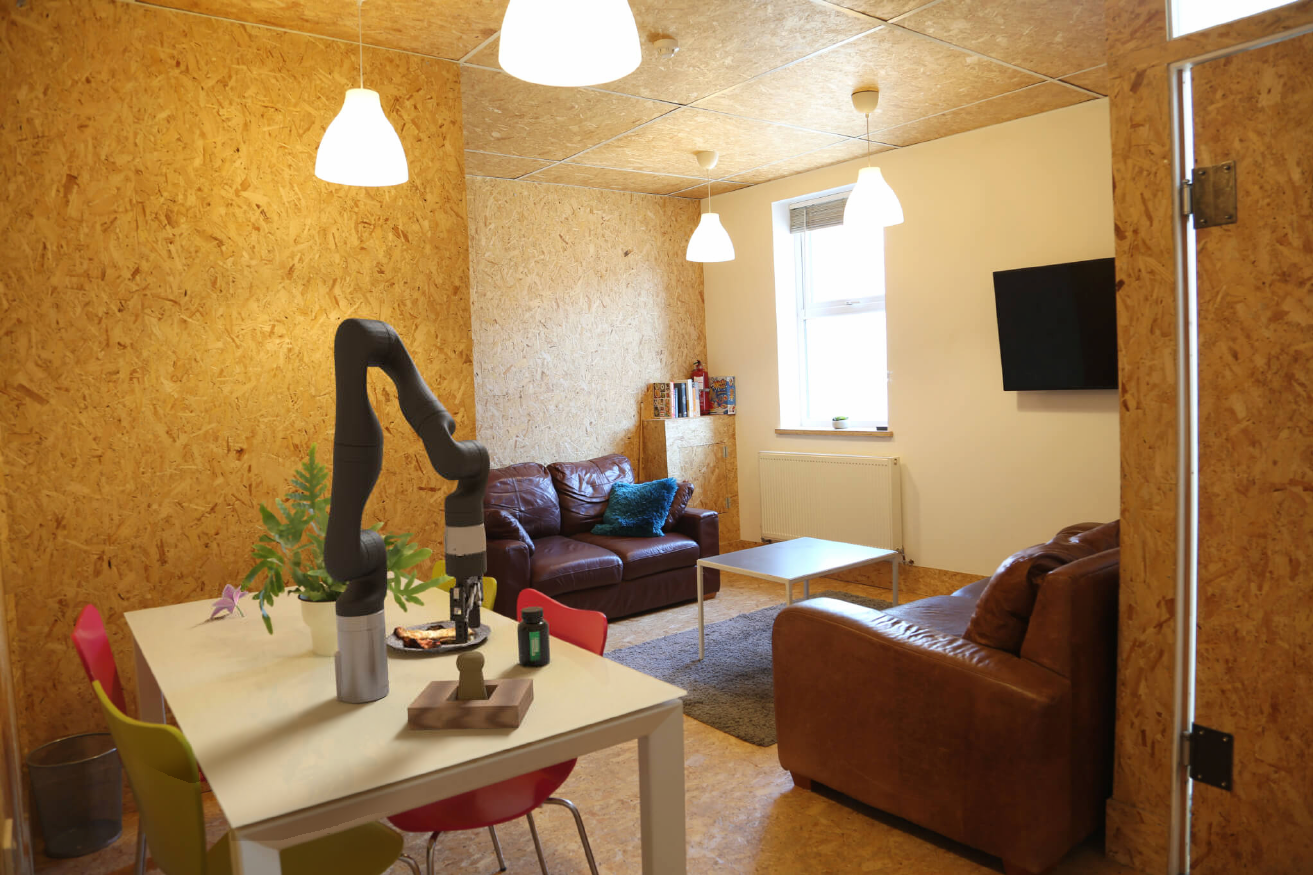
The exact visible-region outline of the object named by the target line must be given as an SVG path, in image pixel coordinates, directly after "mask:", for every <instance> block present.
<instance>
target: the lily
mask: <svg viewBox="0 0 1313 875" xmlns="http://www.w3.org/2000/svg"><path fill="white" fill-rule="evenodd" d="M240 588H241V585H240V586H238V587H237V588H236V587H234V586H233V585H231V584H229V583H227V584H226V585H225V587H224V588H223V590H222V595H221V598H220V599H218V600H216V601H215V602H213V603H212V604H211V607H215V608H214V610H213V612H212V613H211V614H210V619H213V618H214V617H215V616H217V615H218V614H219V613H221V612H222V611H224V610H226V611H227V612H228V613H231V614H232V613H233V612H234V610H235V607H236V608H237V610H238V612H239V613H240V614H241V616H242V617H244V615H243V612H242V611H241V609H240V607H239V606H238V605H237V604H238V601H239V600H241V599H242V598H244V597H246V596H247V595H248V594H249V591H246V590H243V591H244V592H241V590H240Z"/></svg>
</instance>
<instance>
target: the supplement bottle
mask: <svg viewBox="0 0 1313 875" xmlns="http://www.w3.org/2000/svg"><path fill="white" fill-rule="evenodd" d="M520 613H521V615H520V619H521V621H519V623H518V624H517V627H516V628H517V647H518V651H517V652H518V663H519V664H520V666H522V667H523V668H524V667H525V668H539V667H543V666H546V665H548V664H549V663H550V661H551V650H550V649H551V646H550V645H551V644H550V627H549V623H548V621H547V620H546V619H544V617H545V615H544V608H543V607H541V606H528V607H523V608H522V609H521V611H520Z"/></svg>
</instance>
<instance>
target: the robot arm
mask: <svg viewBox="0 0 1313 875" xmlns="http://www.w3.org/2000/svg"><path fill="white" fill-rule="evenodd" d="M333 359H334V376H335V380H334V381H335V421H334V424H335V425H334V436H333V449H332V450H333V453H332V478H331V479H332V480H331V489H330V491H331V492H330V505H329V511H328V512H329V513H328V520H327V526H326V530H325V531H326V532H325V537H324V544H323V557H322V558H323V563H324V569H325V570H326V572H327V575H328V576H329V577H330V578H331V579H332V580H334V581H335V582H338V583H339V582H340V583H345V582H348V584H347V586H346V588H345V589H344V591H343V592H342V593H341V594H340V595H339V596H338V597H337V598H336V599H335V604H334V607H335V620H336V636H337V651H335V653H334V655H333V656H334V658H333V659H334V672H335V673H334V674H335V688H336V689H335V690H336V691H335V692H336V701H343V702H345V703H349V704H350V703H352V704H357V703H358V704H359V703H360V704H361V703H368V702H373V701H375V700H380V699H381V698H383V697H386V696H387V695H388V694H389V693H390V680H389V666H388V664H389V662H388V647H387V644H386V638H387V632H386V631H387V630H386V628H387V627H386V616H385V615H386V614H385V599H386V596H387V593H388V553H387V548H386V543H385V541H384V539H383V538H382V537H381V535H380V534H379V533H378V532H377V531H375V530H373V529H366V528H364V529H362V521H363V514H364V510H365V508H366V505H367V503H368V500H369V498H370V496H371V494H372V492H373V490H374V489H375V486H376V484H377V482H378V479H379V477H380V474H381V473H382V468H383V460H384V442H385V440H384V431H383V427H382V426H381V423H380V421H379V419H378V416H377V414H376V413H375V410H374V409H373V406H372V404H371V401H370V399H369V394H368V368H379V369H380V370H381V371H382V372H384V373H385V374H386V375H387V376H388V377H389V378H390V380H391V381H392V382H393V384H394V386H395V388H396V393H397V401H398V405H399V406H398V407H399V409H400V412H401V413H402V416H403V417H404V419H405V421H406V422H407V423H408V424H409V426H410V427H411V429H412V430H413V431H414V432H415V433H416V435H417V436H418V437H419V439H420V440H421V442H422V443H423V447H424V450H425V452H426V454H427V457H428V459H429V461H430V465H431V466H432V468H433V470H434V471H435V472H436V474H437V475H439V476H440V477H441V478H443V479H445V480H447V481H452V482H453V481H458V482H457V486H456V488H455V490H453V491H452V492H450V493H448V495H446V496H445V498H444V505H443V506H444V536H443V539H444V540H443V541H444V542H443V543H444V546H443V547H444V566H445V568H444V570H445V571H444V572H445V575H446V576H447V577H449V578H450V577H453V578H454V579H455V585H453V587H450V588H449V620H450V621H454V622H455V635H456V641H457V642H467V641H468V639H469V633H468V627H469V628H479V627H480V626H481V623H482V621H481V608H482V605H483V604H482V603H484V601H485V598H484V583H483V582H484V581H483V575H484V574H486V572H488V571H487V569H488V563H487V562H488V561H487V538H486V529H485V524H484V523H485V517H484V498H485V494H486V490H487V485H488V481H489V476H490V469H491V458H490V453H489V451H488V449H487V448H486V446H485V444H483V442H481V441H479V440H476V439H466V440H457V441H456V440H455V439H454V438H453V437H452V436H453V435H454V434H455V432H456V428H457V423H456V421H455V419H454V418H453V416H452V415H451V413H450V412H449V411H448V410H447V409H446V408H445V406H444V405H443V404H442V402H441V401H440V400H439V399H438V398H437V396H436V395H435V394H434V393H433V391H432V389H430V387H429V386H428V384H427V382H426V380H424V378H423V376H422V373H421V372H420V371H419V369H418V367H417V366H416V364H415V362H414V360H413V358H412V356H411V355H410V353H409V351H408V349H407V348H406V346H405V344H404V342H403V340H402V339H401V337H400V335H399V333H398V332H397V331H396V330H395V328H394V327H393V326H392V325H391V324H390V323H388V322H385V321H383V320H377V319H369V318H367V319H366V318H357V317H352V318H351V317H350V318H346V319H344V320H342V321H341V322H340V324H339V325H338V326H337V329H336V332H335V335H334V340H333ZM459 611H460V613H459Z"/></svg>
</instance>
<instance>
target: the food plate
mask: <svg viewBox="0 0 1313 875" xmlns="http://www.w3.org/2000/svg"><path fill="white" fill-rule="evenodd" d="M468 633H469V639H468V641H467V642H457V641H456V635H455V622H454V621H450V619H449V620H446V621H445V620H439V621H438V620H437V621H433V622H427V623H422V624H418V625H417V624H416V625H412V626H409V627H403V626H396V627H395V628H393V632H392V633H390V634H388V635H386V644H387V646H388V647H391V648H393V650H400V652H403V651H404V652H408V651H411V652H413V653H414V652H419V651H421V652H425V653H431V654H432V653H433V654H435V653H438V654H440V653H444V652H446V651H454V649H455V650H456V649H461V648H463V647H468V646H469V645H470V646H471V645H474V644H478V643H480V642H481V641H483V640H484V639H485V638H487V637H489V636H490V634H491V633H492V629H491V627H490V625H488V624H485V623H483V622H481V626H480V627H479V628H469V627H468ZM471 637H473V640H472V638H471Z"/></svg>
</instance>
